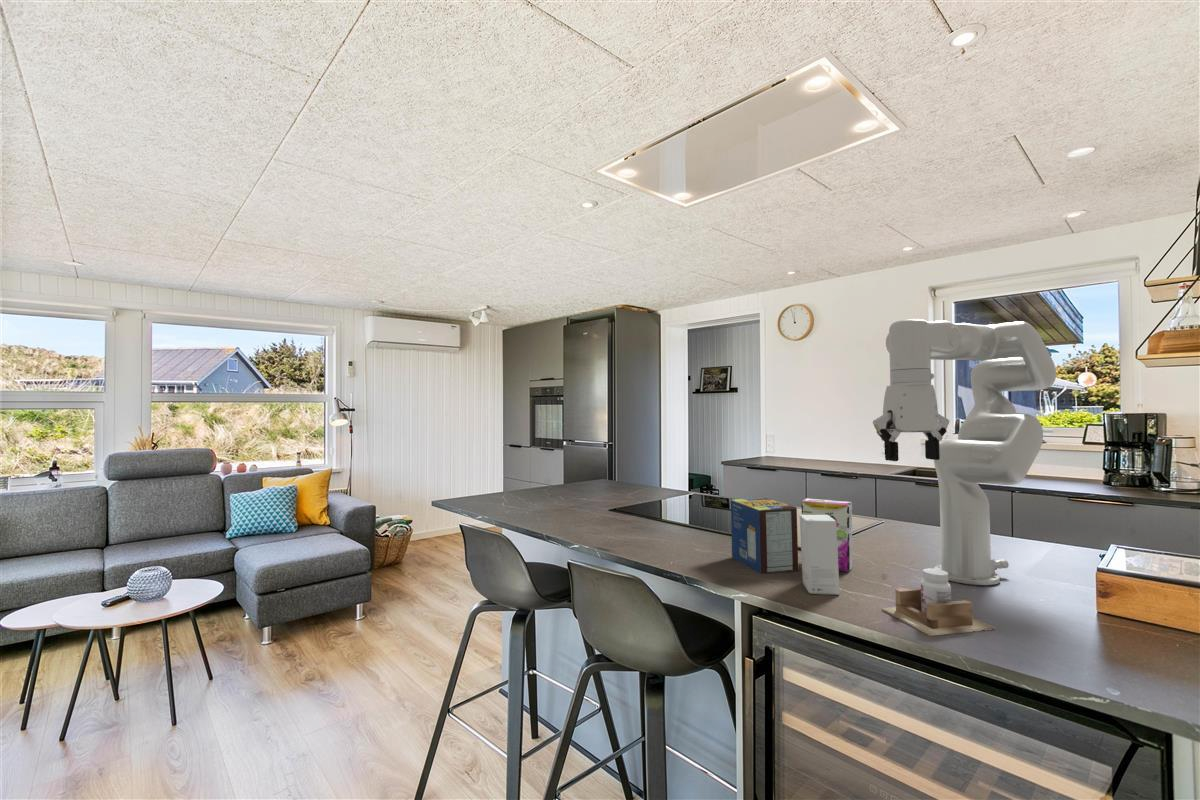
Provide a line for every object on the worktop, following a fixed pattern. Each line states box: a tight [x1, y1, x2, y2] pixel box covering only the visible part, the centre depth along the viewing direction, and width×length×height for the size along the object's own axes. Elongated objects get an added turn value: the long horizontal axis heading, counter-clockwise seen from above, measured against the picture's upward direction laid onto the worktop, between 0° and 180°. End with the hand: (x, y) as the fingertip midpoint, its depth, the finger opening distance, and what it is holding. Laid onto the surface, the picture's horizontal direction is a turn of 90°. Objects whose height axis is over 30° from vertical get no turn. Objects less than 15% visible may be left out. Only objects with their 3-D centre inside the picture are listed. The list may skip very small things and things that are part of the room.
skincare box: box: [799, 514, 840, 596], centre depth 117 cm, size 8×7×16 cm
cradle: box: [881, 587, 996, 637], centre depth 99 cm, size 13×12×4 cm
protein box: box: [730, 497, 799, 575], centre depth 136 cm, size 10×15×16 cm
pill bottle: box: [920, 567, 952, 614], centre depth 99 cm, size 5×5×8 cm
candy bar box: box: [801, 497, 854, 573], centre depth 133 cm, size 11×5×16 cm, turn 58°
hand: (912, 460), depth 112 cm, fingers open, 9 cm apart
